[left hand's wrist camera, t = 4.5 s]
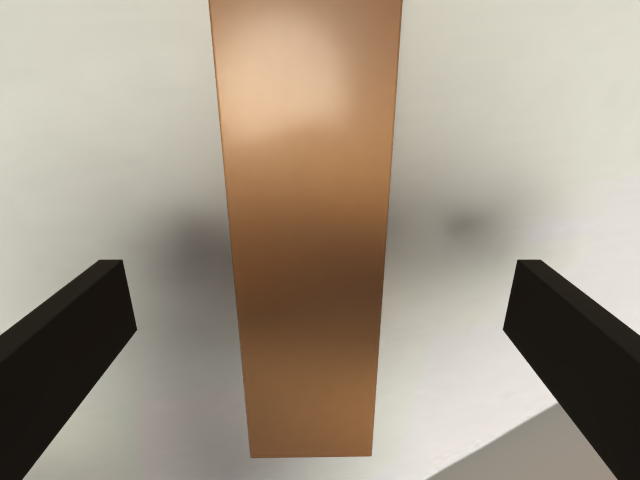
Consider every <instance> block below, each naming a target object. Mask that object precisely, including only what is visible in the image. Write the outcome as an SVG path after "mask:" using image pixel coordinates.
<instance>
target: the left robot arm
mask: <svg viewBox="0 0 640 480" xmlns="http://www.w3.org/2000/svg"><path fill="white" fill-rule="evenodd" d="M136 331H137V327H136V322H135V317H134V312H133V307H132V303H131V298H130V293H129V288H128V284H127V279H126V274H125V269H124V264H123V260H98V261H97V262H96V263H95V264H93V265H92V266H91V267H89V268H88V269H87V270H85V271H84V272H83V273H81V274H80V275H79V276H78V277H76V278H75V279H74V280H72V281H71V282H70V283H68V284H67V285H66V286H64V287H63V288H62V289H60V290H59V291H58V292H57V293H55V294H54V295H53V296H51V297H50V298H49V299H47V300H46V301H45V302H43V303H42V304H41V305H40V306H38V307H37V308H36V309H34V310H33V311H32V312H30V313H29V314H28V315H26V316H25V317H24V318H22V319H21V320H20V321H19V322H17V323H16V324H15V325H13V326H12V327H11V328H9V329H8V330H7V331H5V332H4V333H3V334H2V335H0V480H22V479H23V478H24V477H25V475H26V474H27V473H28V471H29V470H30V469H31V468H32V466H33V465H34V464H35V462H36V461H37V460H38V458H39V457H40V456H41V455H42V453H43V452H44V451H45V449H46V448H47V447H48V445H49V444H50V443H51V441H52V440H53V439H54V438H55V436H56V435H57V434H58V432H59V431H60V430H61V428H62V427H63V426H64V425H65V423H66V422H67V421H68V419H69V418H70V417H71V415H72V414H73V413H74V411H75V410H76V409H77V408H78V406H79V405H80V404H81V402H82V401H83V400H84V398H85V397H86V396H87V395H88V393H89V392H90V391H91V389H92V388H93V387H94V385H95V384H96V383H97V381H98V380H99V379H100V378H101V376H102V375H103V374H104V372H105V371H106V370H107V368H108V367H109V366H110V365H111V363H112V362H113V361H114V359H115V358H116V357H117V355H118V354H119V353H120V351H121V350H122V349H123V348H124V346H125V345H126V344H127V342H128V341H129V340H130V338H131V337H132V336H133V335H134V333H135V332H136ZM503 331H504V332H505V333H506V335H507V336H508V337H509V338H510V340H511V341H512V342H513V344H514V345H515V346H516V348H517V349H518V350H519V352H520V353H521V354H522V355H523V357H524V358H525V359H526V361H527V362H528V363H529V365H530V366H531V367H532V368H533V370H534V371H535V372H536V374H537V375H538V376H539V378H540V379H541V380H542V381H543V383H544V384H545V385H546V387H547V388H548V389H549V391H550V392H551V393H552V395H553V396H554V397H555V398H556V400H557V401H558V402H559V404H560V405H561V406H562V408H563V409H564V410H565V411H566V413H567V414H568V415H569V417H570V418H571V419H572V421H573V422H574V423H575V425H576V426H577V427H578V428H579V430H580V431H581V432H582V434H583V435H584V436H585V438H586V439H587V440H588V441H589V443H590V444H591V445H592V447H593V448H594V449H595V451H596V452H597V453H598V455H599V456H600V457H601V458H602V460H603V461H604V462H605V464H606V465H607V466H608V468H609V469H610V470H611V471H612V473H613V474H614V475H615V477H616V478H617V479H618V480H640V335H638V334H637V333H636V332H635V331H633V330H632V329H631V328H629V327H628V326H627V325H625V324H624V323H623V322H621V321H620V320H619V319H618V318H616V317H615V316H614V315H612V314H611V313H610V312H608V311H607V310H606V309H604V308H603V307H602V306H600V305H599V304H598V303H597V302H595V301H594V300H593V299H591V298H590V297H589V296H587V295H586V294H585V293H583V292H582V291H581V290H580V289H578V288H577V287H576V286H574V285H573V284H572V283H570V282H569V281H568V280H566V279H565V278H564V277H562V276H561V275H560V274H559V273H557V272H556V271H555V270H553V269H552V268H551V267H549V266H548V265H547V264H545V263H544V262H543V261H542V260H517V264H516V269H515V274H514V279H513V284H512V288H511V293H510V298H509V303H508V307H507V312H506V317H505V322H504V327H503Z"/></svg>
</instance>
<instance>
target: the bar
mask: <svg viewBox="0 0 640 480" xmlns="http://www.w3.org/2000/svg"><path fill="white" fill-rule="evenodd" d="M402 1H403V0H209V11H210V22H211V33H212V44H213V55H214V66H215V77H216V87H217V98H218V109H219V120H220V131H221V142H222V153H223V164H224V175H225V185H226V196H227V207H228V218H229V229H230V240H231V251H232V262H233V273H234V283H235V294H236V305H237V316H238V327H239V338H240V349H241V360H242V370H243V381H244V392H245V403H246V414H247V425H248V436H249V447H250V457H251V458H287V457H357V456H371V455H372V442H373V427H374V413H375V398H376V383H377V368H378V354H379V339H380V324H381V310H382V295H383V280H384V265H385V251H386V236H387V221H388V207H389V192H390V177H391V162H392V148H393V133H394V118H395V104H396V89H397V74H398V60H399V45H400V30H401V15H402Z"/></svg>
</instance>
